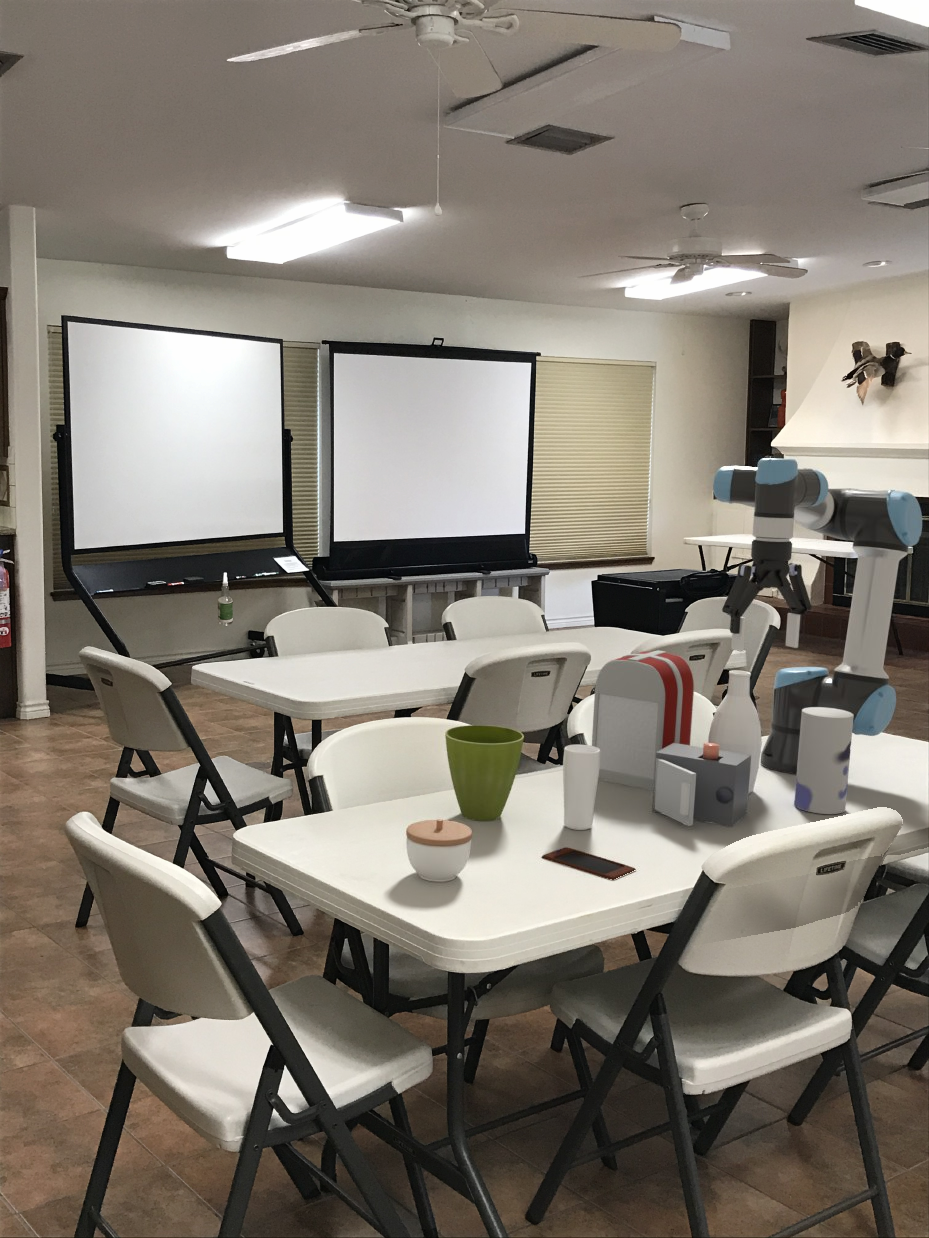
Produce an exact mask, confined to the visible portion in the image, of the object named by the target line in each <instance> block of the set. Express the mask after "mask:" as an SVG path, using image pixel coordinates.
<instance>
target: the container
mask: <svg viewBox="0 0 929 1238" xmlns="http://www.w3.org/2000/svg"><path fill="white" fill-rule="evenodd" d="M853 717H854V715H853V714H852V713H850V712H848V711H844V710H840V709H834V708H825V707H809V708H804V709H802V716H801V728H800V740H799V752H798V765H797V774H796V779H795V781H796V783H795V790H794V791H795V792H794V804H793V805H794V806H795V807H797V808H798V809H799V810H802V811H805V812H808V813H809V812H810V813H814V814H822V815H838V814H842V813H845V811H846V809H847V808H846V807H847V805H846V804H847V793H848V784H849V783H848V782H849V772H850V771H849V770H850V761H851V746H852V737H853V733H852V728H853Z"/></svg>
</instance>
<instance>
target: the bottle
mask: <svg viewBox="0 0 929 1238" xmlns="http://www.w3.org/2000/svg"><path fill="white" fill-rule="evenodd" d="M728 675H729V678H728V686H727V693H726V695H725V697H724V698H723V699H722V701H721V702H720V704H719V705H718V707H717V708H716V711H715V712H714V715H713V718H712V720H711V723H710V724H711V725H710V728H709V732H708V738H707V739H708V740H707V741H708V742H707V743H715V744H718V745H719V750H722V751H728V752H734V753H741V754H747V755H751V765H750V778H749V791H748V795H750V794H751V793H753V791H754V788H755V784H756V780H757V776H758V772H759V768H760V761H761V753H762V743H763V740H762V727H761V722H760V718H759V714H758V711H757V708H756V706H755V704H754V702H753V700H752V698H751V695H750V690H751V689H750V686H751V684H750V683H751V679H750V678H751V676H752V674H751V672H750V671H747V670H739V669H738V670H733V669H732V670H729V672H728Z"/></svg>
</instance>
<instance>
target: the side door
mask: <svg viewBox="0 0 929 1238" xmlns="http://www.w3.org/2000/svg"><path fill="white" fill-rule="evenodd" d="M695 785H696V773H694V772H691V771H689V770H687V769H684V768H682V767H679V766H677V765H675V764H672V763H670V762H668V761H665V760H663V759H660V758H657V759H656V771H655V787H654V791H653V795H654V802H653V801H652V810H653V809H655V810H657V811H659V812H661V813H660V814H662V813H663V815H665V816H667V817H670V818H671V819H674V820H675V821H678V822H680V823H682V824H683V825H685V826H687V827H690V826H693V825H694V819H693V813H694V799H695Z"/></svg>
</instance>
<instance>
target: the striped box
mask: <svg viewBox="0 0 929 1238" xmlns="http://www.w3.org/2000/svg"><path fill="white" fill-rule="evenodd" d="M694 694H695V679H694V674H693V671H692V668H691V666H690V665H689V663H688V661H686V659H685V658H684V657H682V656H680V655H677V654H673V653H669V652H667V651H664V650H659V649H657V650H654V651H653V650H652V651H641V652H636V653H629V654H626V655H623V656H621V657H618V658H615V659H612V660H611V659H610V660H609V661H607V662H606V663H605V664H604V665H603V666H602V667H601V669H600V670H599V672H598V675H597V678H596V681H595V686H594V696H593V697H594V700H593V703H594V704H593V717H592V718H593V719H592V734H591V735H592V736H591V746H594V747H597V748H599V749H600V769H599V777H598V781H604V782H608V783H612V784H613V783H614V784H619V785H624V786H629V787H634V788H639V789H644V790H649V791H653V792H654V779H655V764H656V752H658V751H660V750H661V749H663V748H665V747H667V746H669V745H670V744H672V743H678V744H684V745H691V737H692V723H693V711H694V709H693V707H694Z"/></svg>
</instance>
